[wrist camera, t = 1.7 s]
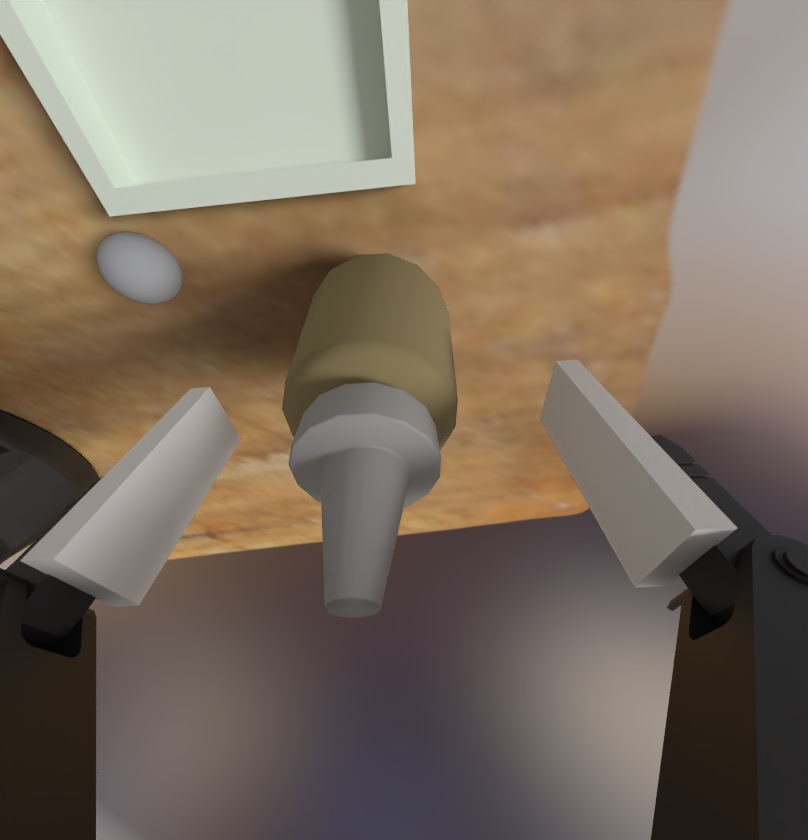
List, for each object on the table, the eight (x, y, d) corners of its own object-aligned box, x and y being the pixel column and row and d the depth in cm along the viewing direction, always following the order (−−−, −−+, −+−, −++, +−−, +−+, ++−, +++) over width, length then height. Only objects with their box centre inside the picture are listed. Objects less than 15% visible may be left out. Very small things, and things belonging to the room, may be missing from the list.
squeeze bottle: (305, 329, 21) (125, 635, 7) (352, 209, 16) (123, 389, 3) (402, 378, 24) (413, 666, 10) (466, 286, 19) (647, 573, 5)
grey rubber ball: (152, 295, 19) (111, 315, 16) (112, 230, 17) (57, 241, 14) (206, 290, 19) (173, 310, 16) (173, 224, 17) (129, 233, 14)
